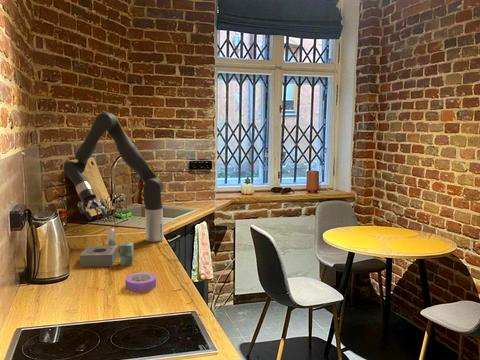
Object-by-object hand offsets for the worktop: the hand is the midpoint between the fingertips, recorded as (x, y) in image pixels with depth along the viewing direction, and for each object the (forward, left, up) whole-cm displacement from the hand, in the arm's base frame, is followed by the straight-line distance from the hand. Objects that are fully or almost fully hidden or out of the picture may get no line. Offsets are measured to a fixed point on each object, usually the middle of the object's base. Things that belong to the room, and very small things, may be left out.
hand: (98, 217), depth 221 cm
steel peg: (-8, +8, -15) cm, 19 cm away
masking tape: (-29, +56, -15) cm, 65 cm away
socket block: (-6, +24, -15) cm, 29 cm away
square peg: (-19, +28, -15) cm, 37 cm away
